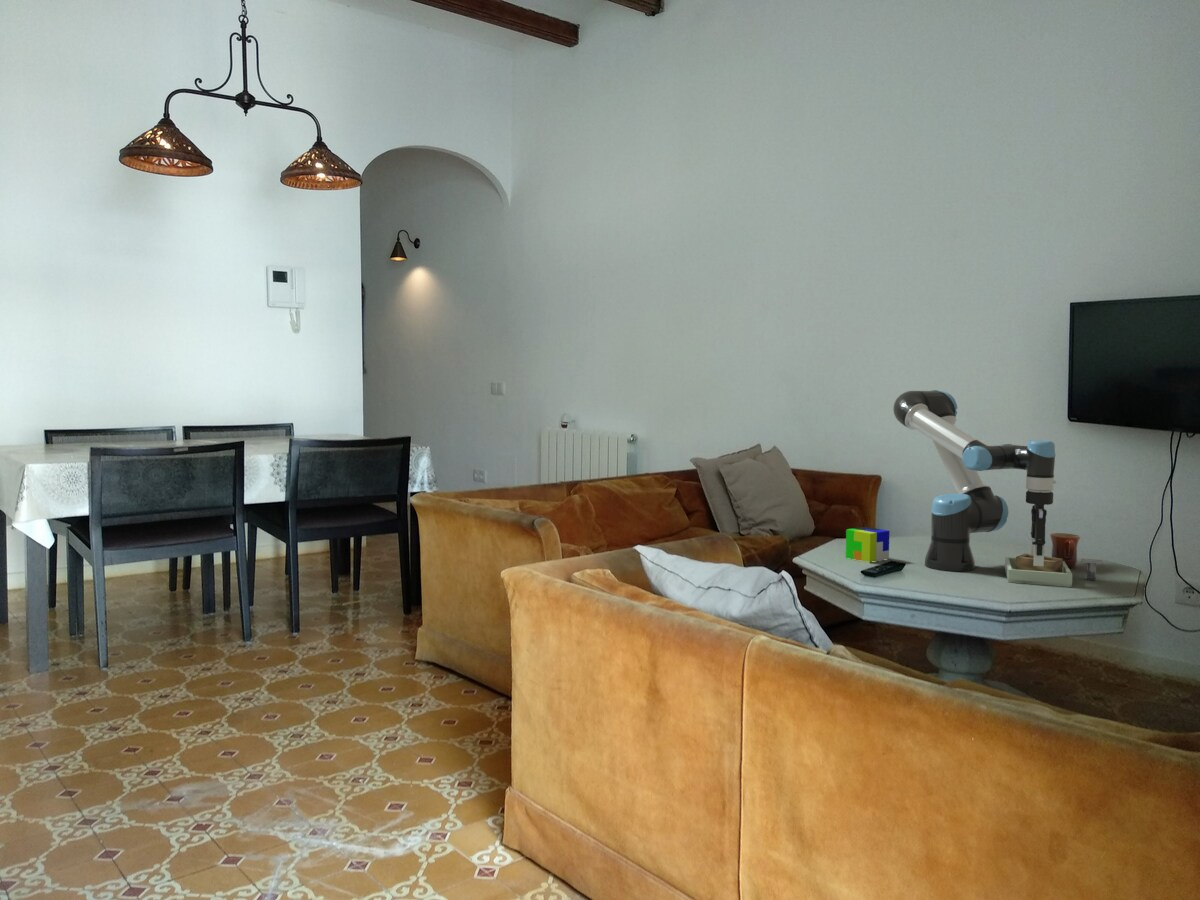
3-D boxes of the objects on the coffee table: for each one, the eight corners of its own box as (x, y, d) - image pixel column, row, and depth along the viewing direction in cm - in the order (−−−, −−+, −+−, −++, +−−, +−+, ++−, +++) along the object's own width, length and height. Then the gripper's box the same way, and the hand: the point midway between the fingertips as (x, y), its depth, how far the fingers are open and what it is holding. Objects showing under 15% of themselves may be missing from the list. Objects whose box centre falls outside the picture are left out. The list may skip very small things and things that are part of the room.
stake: (1081, 580, 263) (1082, 558, 263) (1080, 578, 265) (1081, 557, 265) (1101, 581, 261) (1102, 560, 261) (1100, 580, 263) (1101, 558, 263)
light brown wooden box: (1062, 574, 266) (1062, 558, 266) (1052, 578, 261) (1053, 562, 260) (1025, 569, 274) (1025, 553, 274) (1015, 572, 269) (1015, 556, 269)
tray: (1008, 582, 261) (1008, 569, 261) (1004, 568, 279) (1004, 557, 279) (1071, 587, 255) (1072, 574, 254) (1063, 573, 273) (1064, 561, 273)
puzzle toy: (888, 559, 294) (889, 530, 293) (869, 563, 288) (870, 533, 288) (864, 555, 302) (865, 526, 301) (845, 558, 297) (846, 529, 296)
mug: (1045, 563, 289) (1046, 532, 288) (1073, 564, 287) (1075, 533, 286) (1056, 570, 277) (1057, 539, 276) (1086, 571, 275) (1087, 539, 274)
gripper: (1057, 495, 254) (1054, 570, 256) (1049, 487, 275) (1046, 556, 277) (1029, 494, 257) (1026, 568, 259) (1023, 486, 278) (1020, 554, 279)
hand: (1036, 562), depth 268 cm, fingers closed on light brown wooden box, 10 cm apart
